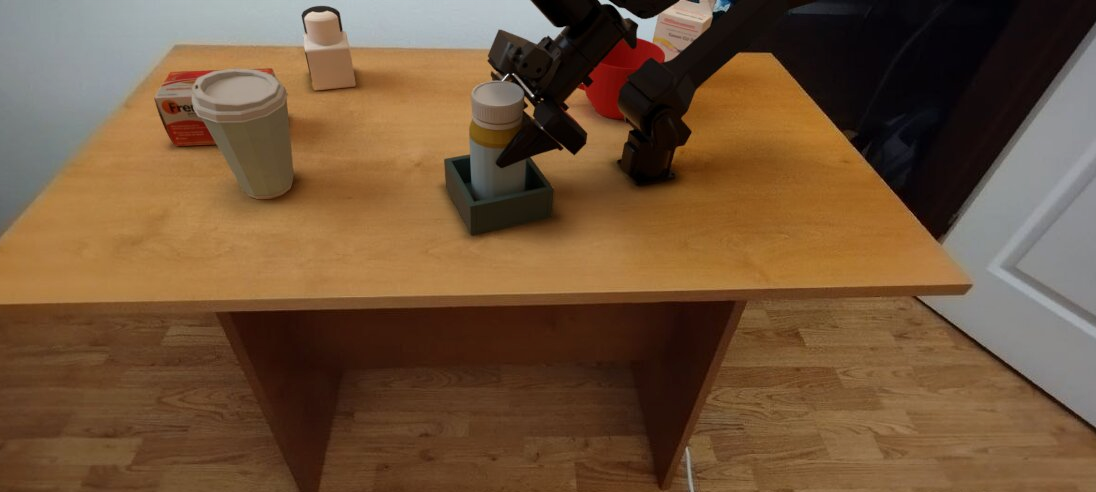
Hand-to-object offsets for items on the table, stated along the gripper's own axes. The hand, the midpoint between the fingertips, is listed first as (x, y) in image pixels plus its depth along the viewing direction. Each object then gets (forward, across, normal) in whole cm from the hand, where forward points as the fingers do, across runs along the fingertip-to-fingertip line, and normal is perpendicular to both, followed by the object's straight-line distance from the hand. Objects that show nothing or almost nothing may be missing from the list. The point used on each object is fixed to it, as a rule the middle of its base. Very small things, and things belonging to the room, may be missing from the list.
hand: (488, 150), depth 71 cm
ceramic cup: (-13, -19, +25) cm, 34 cm away
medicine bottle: (+16, -43, -4) cm, 46 cm away
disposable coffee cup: (+25, -13, -13) cm, 31 cm away
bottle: (+4, 0, +6) cm, 8 cm away
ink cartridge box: (-26, -26, +38) cm, 53 cm away
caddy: (+5, 0, +7) cm, 8 cm away
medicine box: (+28, -30, -16) cm, 44 cm away
